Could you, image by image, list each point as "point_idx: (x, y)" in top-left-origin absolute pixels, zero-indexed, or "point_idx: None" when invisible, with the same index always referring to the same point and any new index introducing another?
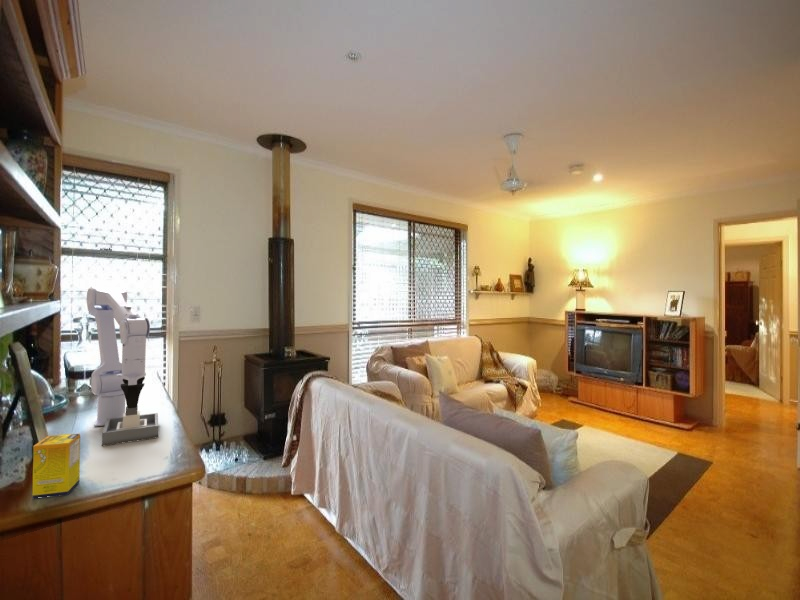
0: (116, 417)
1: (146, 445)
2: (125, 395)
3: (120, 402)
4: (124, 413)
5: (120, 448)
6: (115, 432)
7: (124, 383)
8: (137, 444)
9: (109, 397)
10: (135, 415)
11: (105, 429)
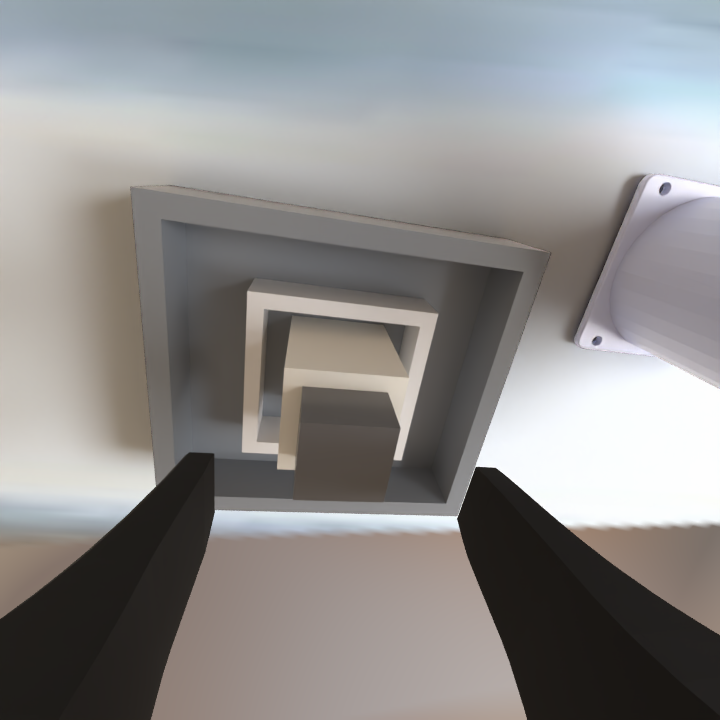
0: (633, 311)
1: (65, 402)
2: (34, 598)
3: None
4: (387, 382)
5: (64, 281)
6: (143, 280)
7: (686, 686)
8: (106, 366)
9: None
10: (280, 444)
11: (235, 219)
